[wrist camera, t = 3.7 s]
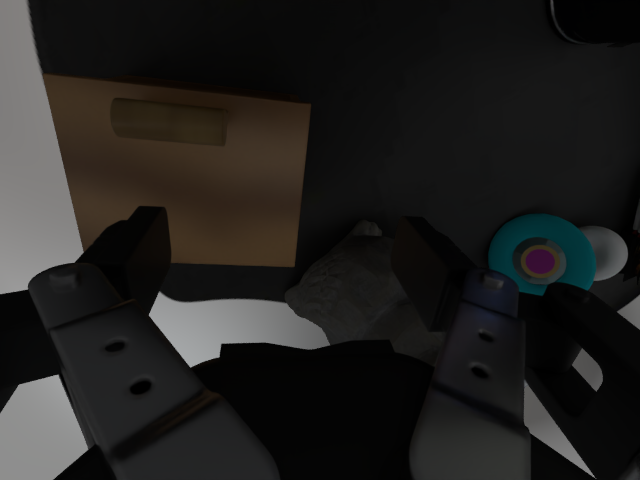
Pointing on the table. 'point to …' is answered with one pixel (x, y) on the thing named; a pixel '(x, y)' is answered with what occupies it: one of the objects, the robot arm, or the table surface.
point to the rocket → (632, 248)
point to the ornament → (542, 253)
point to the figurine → (362, 296)
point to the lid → (185, 165)
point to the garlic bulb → (606, 251)
